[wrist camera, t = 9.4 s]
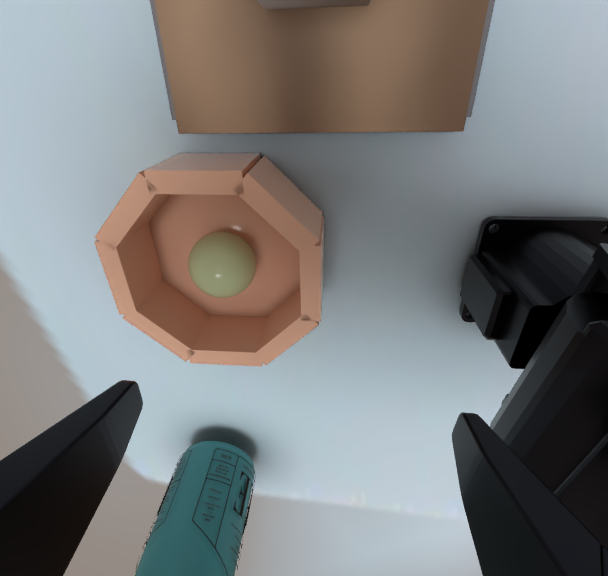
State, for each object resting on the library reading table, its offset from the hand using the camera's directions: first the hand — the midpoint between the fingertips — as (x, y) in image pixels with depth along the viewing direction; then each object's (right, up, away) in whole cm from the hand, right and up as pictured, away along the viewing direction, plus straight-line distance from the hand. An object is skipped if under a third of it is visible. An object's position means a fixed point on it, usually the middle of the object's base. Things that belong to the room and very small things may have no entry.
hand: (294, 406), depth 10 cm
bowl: (-4, +6, +11) cm, 13 cm away
